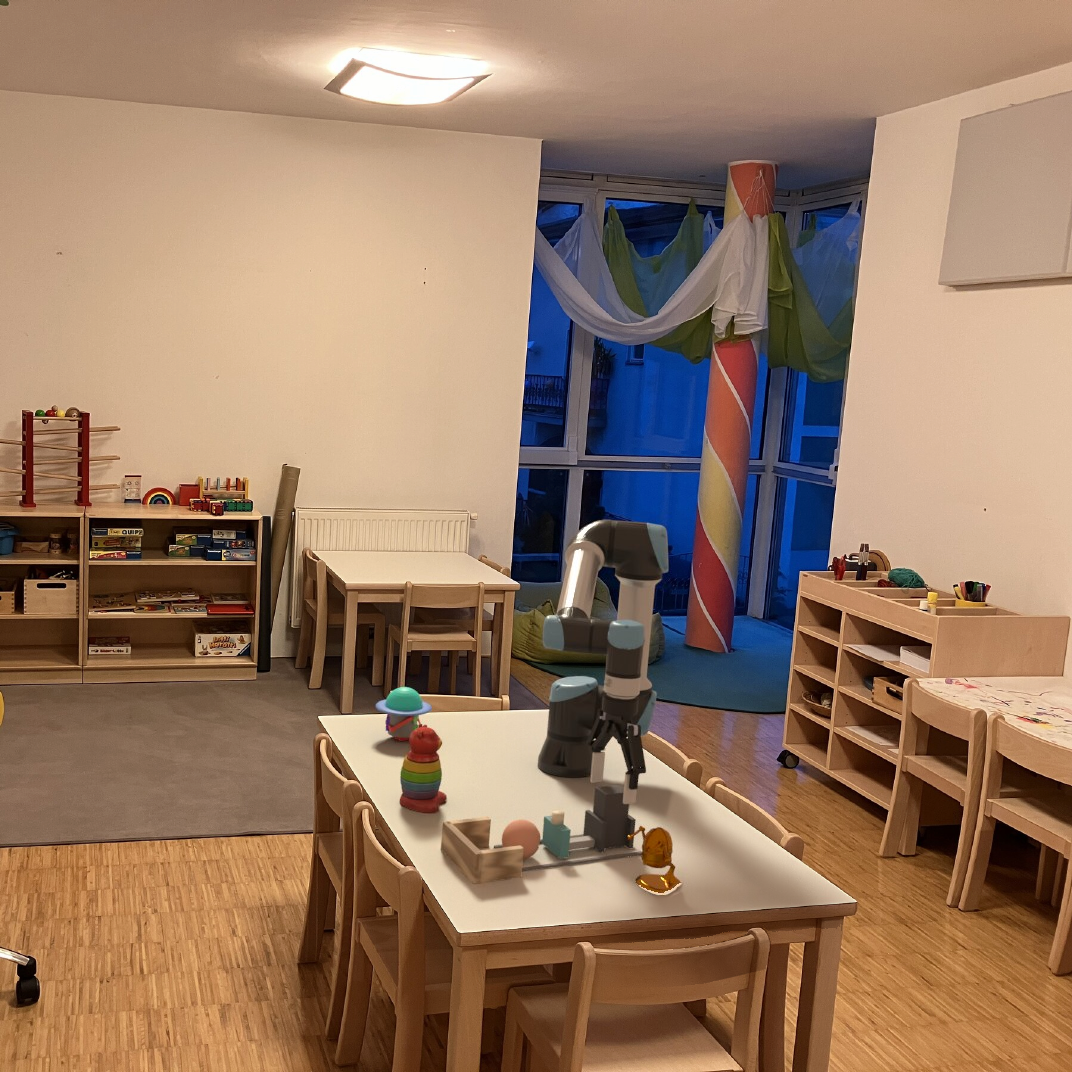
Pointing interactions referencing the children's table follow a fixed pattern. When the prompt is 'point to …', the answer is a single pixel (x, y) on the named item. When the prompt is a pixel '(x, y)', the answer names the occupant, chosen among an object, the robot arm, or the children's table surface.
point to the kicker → (593, 825)
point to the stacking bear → (422, 772)
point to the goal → (479, 851)
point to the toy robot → (403, 712)
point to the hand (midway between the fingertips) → (612, 792)
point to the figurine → (656, 859)
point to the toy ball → (522, 837)
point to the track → (575, 860)
